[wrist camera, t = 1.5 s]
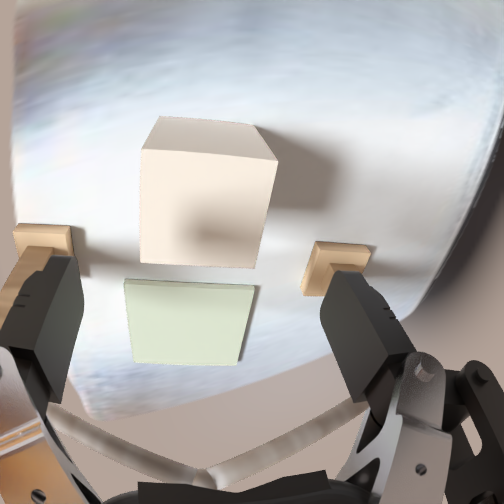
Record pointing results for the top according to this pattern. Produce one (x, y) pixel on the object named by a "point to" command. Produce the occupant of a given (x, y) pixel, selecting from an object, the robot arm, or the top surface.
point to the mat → (186, 321)
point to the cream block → (204, 193)
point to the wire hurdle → (216, 477)
